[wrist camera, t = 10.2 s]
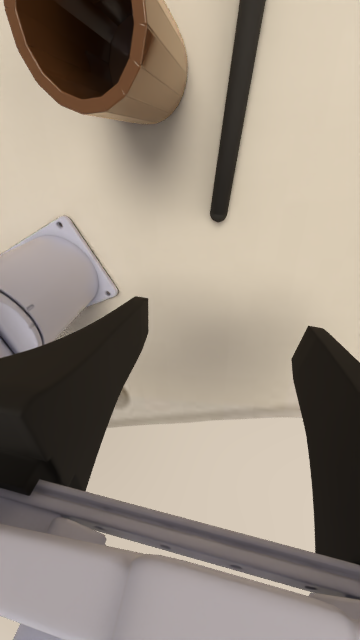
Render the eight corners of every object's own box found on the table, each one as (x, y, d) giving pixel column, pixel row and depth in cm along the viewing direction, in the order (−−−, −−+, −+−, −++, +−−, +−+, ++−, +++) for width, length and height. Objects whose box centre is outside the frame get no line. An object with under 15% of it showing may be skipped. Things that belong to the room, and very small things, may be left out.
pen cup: (135, 140, 16) (70, 140, 10) (90, 46, 14) (-29, -29, 8) (201, 94, 14) (172, 58, 8) (162, -23, 12) (79, -200, 6)
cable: (227, 220, 18) (227, 225, 17) (207, 218, 18) (206, 222, 17) (352, -452, 7) (370, -544, 6) (298, -442, 7) (307, -531, 6)
